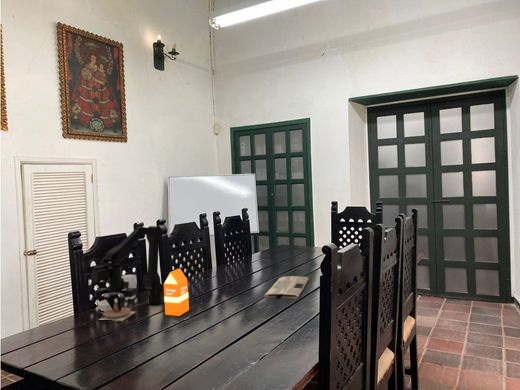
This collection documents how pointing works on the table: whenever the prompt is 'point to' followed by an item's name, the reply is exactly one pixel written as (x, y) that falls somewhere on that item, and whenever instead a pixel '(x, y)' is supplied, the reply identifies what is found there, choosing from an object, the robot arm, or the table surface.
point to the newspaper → (287, 287)
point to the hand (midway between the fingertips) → (117, 310)
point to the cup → (130, 283)
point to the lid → (116, 311)
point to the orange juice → (176, 293)
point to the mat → (118, 317)
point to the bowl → (104, 305)
